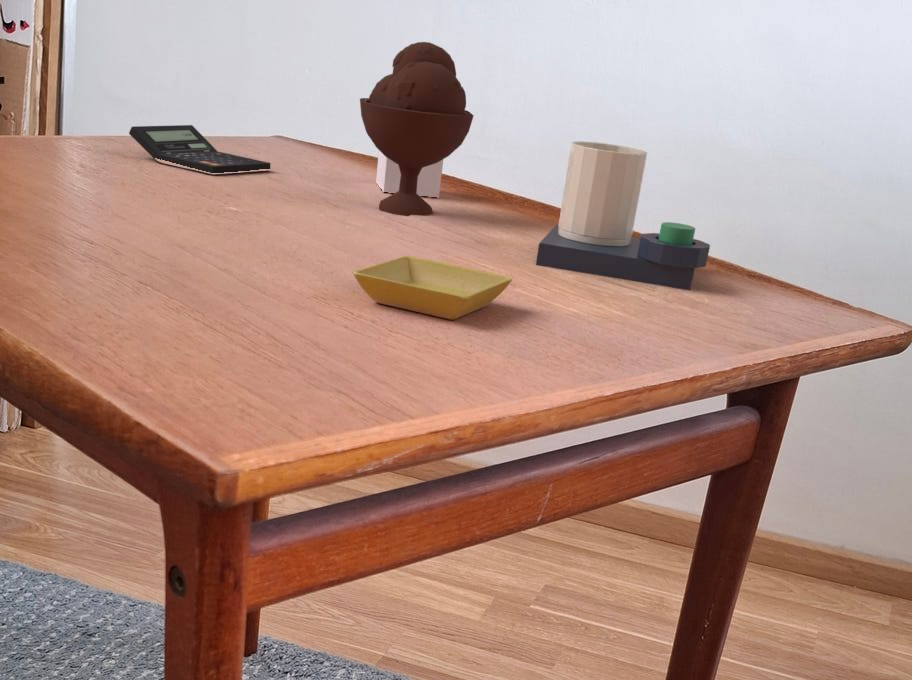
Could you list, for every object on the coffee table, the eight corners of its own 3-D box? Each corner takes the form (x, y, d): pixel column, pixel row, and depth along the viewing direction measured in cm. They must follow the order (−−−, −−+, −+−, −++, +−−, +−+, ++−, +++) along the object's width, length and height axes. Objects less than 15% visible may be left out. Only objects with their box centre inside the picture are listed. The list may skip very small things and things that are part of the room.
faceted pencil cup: (632, 239, 111) (649, 150, 107) (627, 250, 105) (644, 156, 102) (562, 227, 112) (576, 139, 108) (553, 238, 106) (567, 145, 103)
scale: (703, 270, 112) (711, 230, 110) (699, 295, 101) (709, 251, 100) (552, 245, 114) (558, 206, 112) (533, 267, 103) (540, 224, 102)
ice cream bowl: (334, 197, 123) (347, 31, 117) (436, 203, 128) (454, 43, 121) (371, 218, 115) (387, 40, 108) (479, 224, 119) (501, 53, 113)
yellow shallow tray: (462, 328, 82) (466, 296, 81) (347, 301, 85) (350, 270, 84) (510, 307, 89) (515, 278, 88) (403, 283, 92) (406, 254, 91)
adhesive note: (439, 198, 131) (446, 138, 129) (383, 193, 130) (389, 132, 127) (429, 189, 137) (435, 130, 134) (375, 183, 135) (381, 124, 132)
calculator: (212, 175, 127) (213, 144, 125) (128, 156, 132) (128, 125, 130) (270, 171, 134) (271, 141, 133) (188, 153, 139) (189, 124, 137)
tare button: (692, 245, 104) (695, 225, 103) (690, 250, 101) (695, 230, 101) (658, 239, 104) (662, 220, 104) (656, 244, 102) (660, 225, 101)
